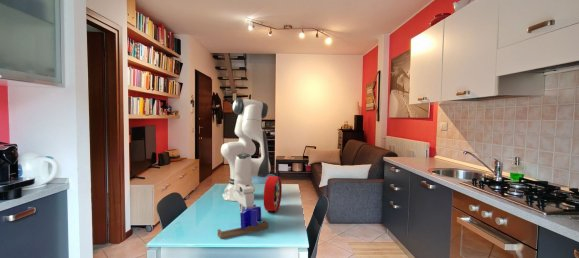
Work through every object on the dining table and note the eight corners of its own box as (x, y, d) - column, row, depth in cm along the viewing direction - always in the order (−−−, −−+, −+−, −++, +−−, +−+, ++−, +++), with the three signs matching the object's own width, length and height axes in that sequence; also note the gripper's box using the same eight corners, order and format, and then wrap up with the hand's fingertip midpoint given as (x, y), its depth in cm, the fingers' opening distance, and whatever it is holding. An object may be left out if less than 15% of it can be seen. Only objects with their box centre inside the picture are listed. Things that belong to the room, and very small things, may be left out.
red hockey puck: (273, 216, 157) (273, 180, 156) (263, 215, 158) (263, 179, 157) (281, 205, 176) (281, 173, 176) (272, 204, 178) (272, 173, 177)
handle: (217, 236, 129) (217, 227, 129) (264, 226, 142) (264, 218, 142) (220, 239, 125) (220, 230, 125) (268, 228, 138) (268, 220, 138)
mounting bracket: (241, 228, 130) (253, 228, 129) (240, 213, 130) (252, 213, 129) (253, 218, 148) (264, 218, 146) (252, 204, 148) (263, 204, 147)
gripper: (230, 181, 153) (229, 206, 153) (244, 190, 135) (243, 219, 136) (241, 180, 156) (240, 205, 157) (256, 189, 138) (255, 217, 139)
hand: (242, 211), depth 146 cm, fingers closed
